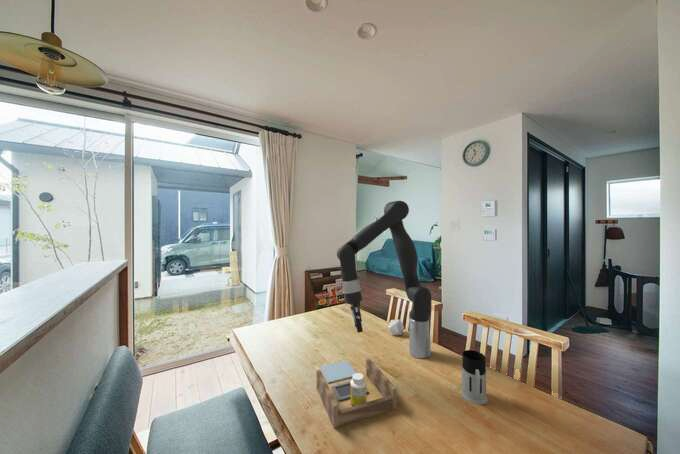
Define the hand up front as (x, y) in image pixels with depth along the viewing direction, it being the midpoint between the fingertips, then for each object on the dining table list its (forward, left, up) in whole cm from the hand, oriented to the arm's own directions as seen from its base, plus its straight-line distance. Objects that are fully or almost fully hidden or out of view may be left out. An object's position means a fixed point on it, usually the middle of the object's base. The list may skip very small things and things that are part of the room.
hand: (358, 329), depth 107 cm
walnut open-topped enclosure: (+1, +15, -19) cm, 24 cm away
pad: (+9, 0, -19) cm, 21 cm away
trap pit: (+3, +12, -19) cm, 22 cm away
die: (-17, -39, -19) cm, 47 cm away
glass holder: (-42, +11, -19) cm, 48 cm away
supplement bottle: (-1, +19, -19) cm, 27 cm away
